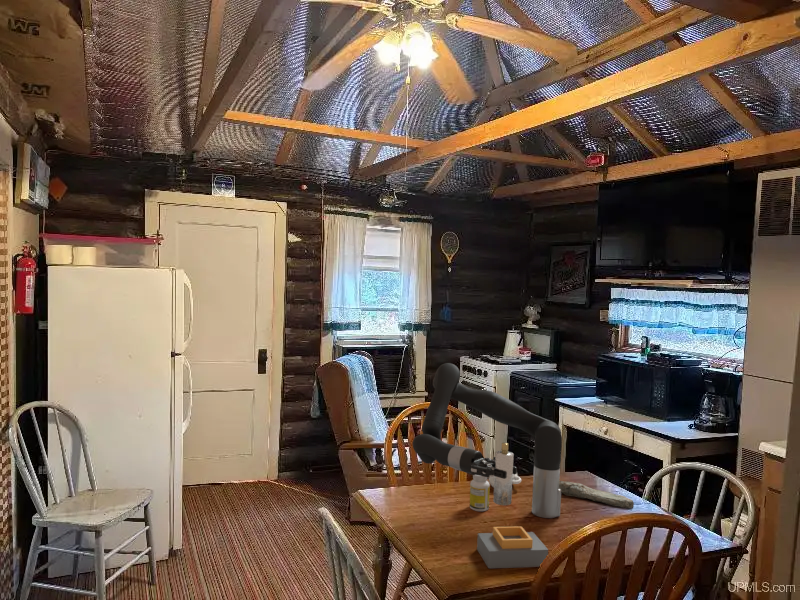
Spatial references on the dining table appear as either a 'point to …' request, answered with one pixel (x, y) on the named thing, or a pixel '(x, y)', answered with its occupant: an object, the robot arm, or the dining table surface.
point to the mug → (514, 481)
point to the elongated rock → (594, 494)
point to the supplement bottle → (479, 493)
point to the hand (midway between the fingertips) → (511, 473)
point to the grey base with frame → (511, 548)
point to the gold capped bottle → (502, 485)
